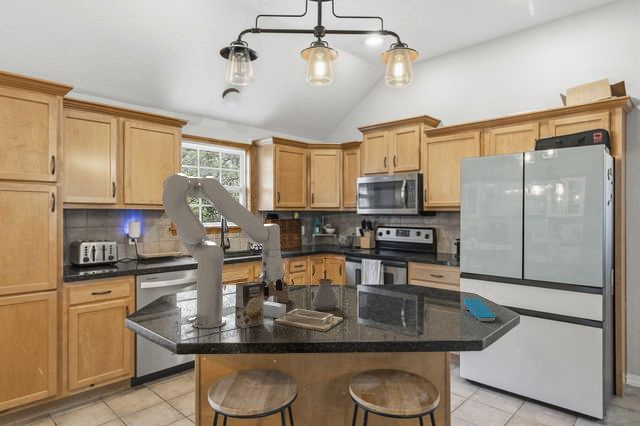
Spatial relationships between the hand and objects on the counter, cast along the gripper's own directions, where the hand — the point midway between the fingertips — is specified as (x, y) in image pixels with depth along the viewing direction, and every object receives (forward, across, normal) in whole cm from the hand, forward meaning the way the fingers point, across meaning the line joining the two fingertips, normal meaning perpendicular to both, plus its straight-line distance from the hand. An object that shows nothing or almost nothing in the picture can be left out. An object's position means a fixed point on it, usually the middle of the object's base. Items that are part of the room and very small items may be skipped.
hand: (272, 293), depth 160 cm
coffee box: (+9, -16, 0) cm, 18 cm away
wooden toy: (+10, +19, +14) cm, 25 cm away
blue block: (+12, +43, -76) cm, 88 cm away
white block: (+9, -1, +1) cm, 9 cm away
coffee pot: (+10, +24, -12) cm, 29 cm away
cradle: (+9, -1, -18) cm, 21 cm away
